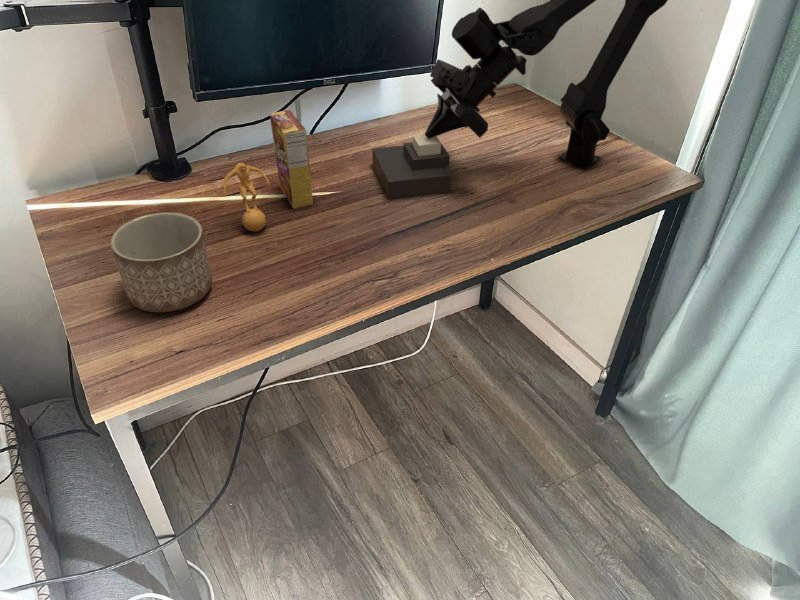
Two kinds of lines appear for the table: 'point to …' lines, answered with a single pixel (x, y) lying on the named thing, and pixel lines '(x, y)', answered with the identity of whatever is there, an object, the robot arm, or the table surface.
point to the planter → (162, 261)
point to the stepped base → (411, 171)
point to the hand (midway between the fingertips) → (426, 136)
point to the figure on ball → (251, 217)
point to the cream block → (426, 145)
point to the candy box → (292, 158)
